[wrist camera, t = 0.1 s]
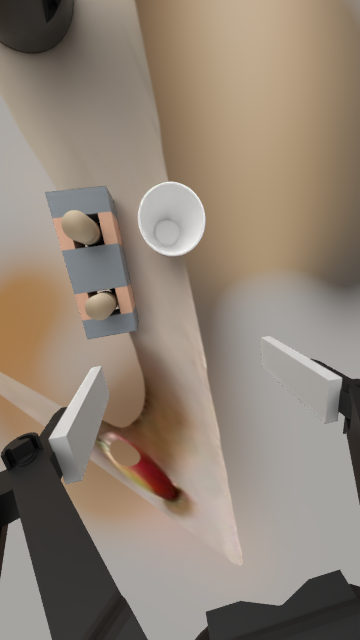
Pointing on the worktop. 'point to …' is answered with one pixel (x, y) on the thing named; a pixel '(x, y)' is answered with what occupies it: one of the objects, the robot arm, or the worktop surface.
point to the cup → (171, 219)
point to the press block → (95, 259)
